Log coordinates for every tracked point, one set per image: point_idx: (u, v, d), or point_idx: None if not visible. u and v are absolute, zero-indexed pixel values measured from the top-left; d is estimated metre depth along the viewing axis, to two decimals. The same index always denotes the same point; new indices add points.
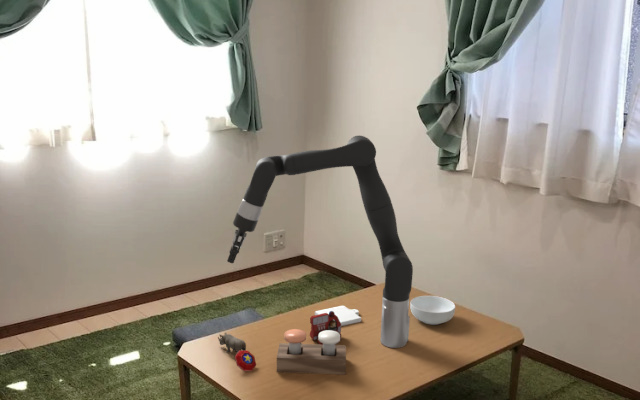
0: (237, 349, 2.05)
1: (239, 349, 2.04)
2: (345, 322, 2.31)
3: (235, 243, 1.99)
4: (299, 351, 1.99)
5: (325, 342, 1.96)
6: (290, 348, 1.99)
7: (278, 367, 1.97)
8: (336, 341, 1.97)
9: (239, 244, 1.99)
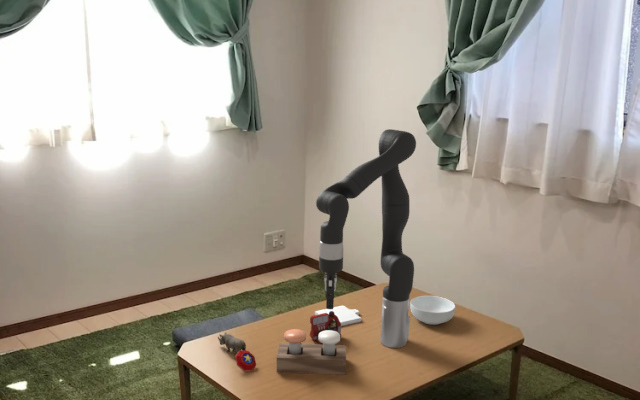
0: (237, 349, 2.05)
1: (239, 349, 2.05)
2: (345, 322, 2.31)
3: (327, 289, 1.88)
4: (299, 351, 1.99)
5: (325, 342, 1.96)
6: (290, 348, 1.99)
7: (278, 367, 1.97)
8: (336, 341, 1.97)
9: (332, 288, 1.88)
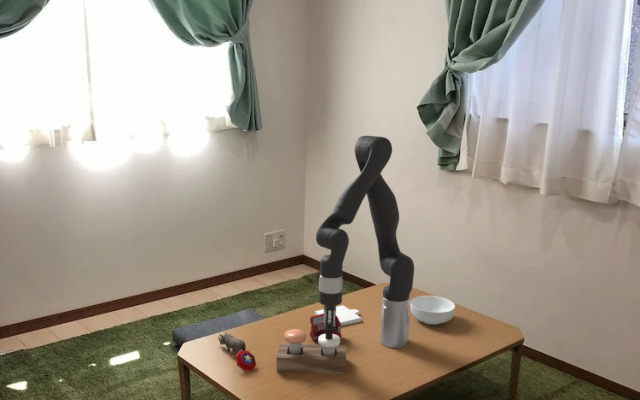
0: (237, 349, 2.05)
1: (239, 349, 2.05)
2: (345, 322, 2.31)
3: (327, 325, 1.93)
4: (299, 351, 1.99)
5: (325, 345, 1.96)
6: (290, 348, 1.99)
7: (278, 367, 1.97)
8: (336, 344, 1.97)
9: (331, 325, 1.93)
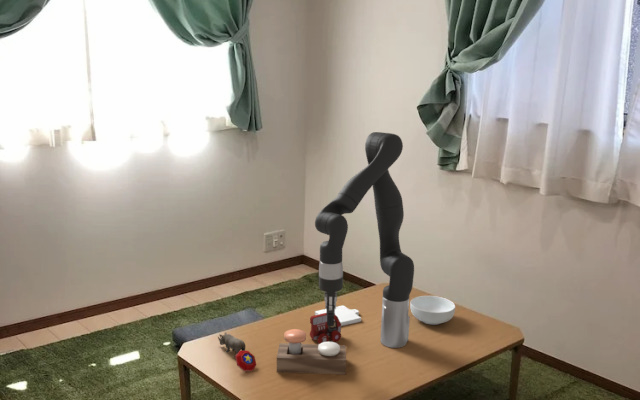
0: (236, 349, 2.05)
1: (238, 349, 2.05)
2: (345, 322, 2.31)
3: (328, 311, 1.92)
4: (299, 351, 1.99)
5: (325, 354, 1.97)
6: (290, 348, 1.99)
7: (278, 367, 1.97)
8: (336, 353, 1.98)
9: (332, 311, 1.92)
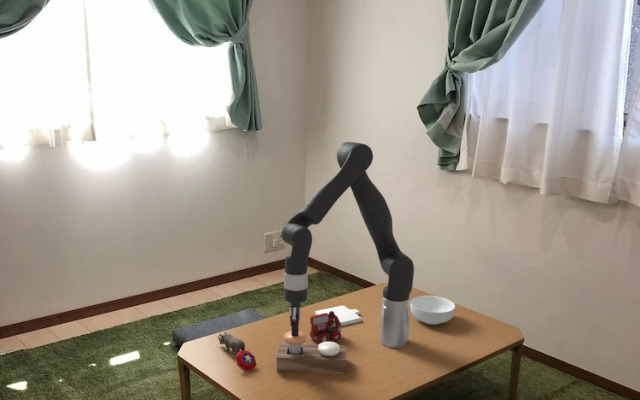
0: (236, 349, 2.05)
1: (238, 349, 2.05)
2: (345, 322, 2.31)
3: (291, 322, 1.93)
4: (299, 352, 1.99)
5: (325, 354, 1.97)
6: (290, 349, 1.99)
7: (278, 367, 1.97)
8: (336, 353, 1.98)
9: (296, 322, 1.93)
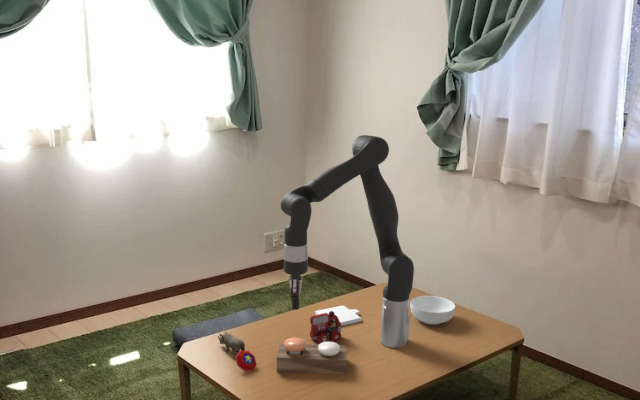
0: (235, 349, 2.05)
1: (237, 349, 2.05)
2: (345, 322, 2.31)
3: (292, 294, 1.91)
4: None
5: (325, 354, 1.97)
6: None
7: (278, 367, 1.97)
8: (336, 353, 1.98)
9: (296, 294, 1.91)
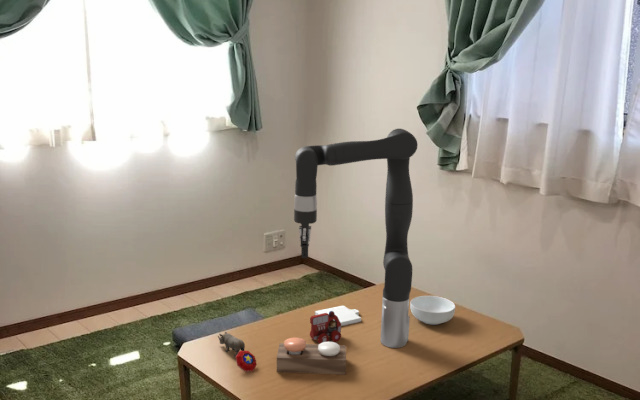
0: (235, 349, 2.05)
1: (237, 349, 2.05)
2: (345, 322, 2.31)
3: (302, 242, 2.02)
4: None
5: (325, 354, 1.97)
6: None
7: (278, 367, 1.97)
8: (336, 353, 1.98)
9: (306, 242, 2.02)
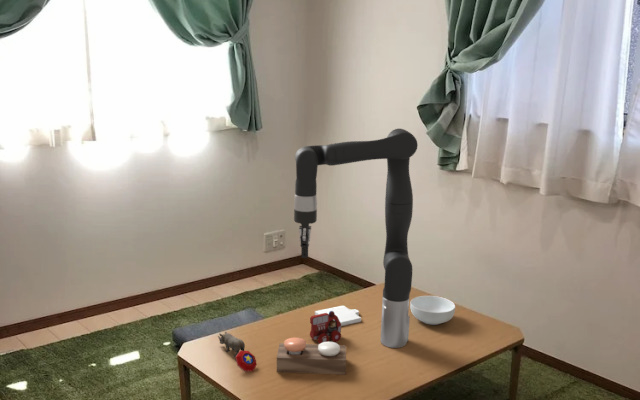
0: (235, 349, 2.05)
1: (237, 349, 2.05)
2: (345, 322, 2.31)
3: (302, 242, 2.02)
4: None
5: (325, 354, 1.97)
6: None
7: (278, 367, 1.97)
8: (336, 353, 1.98)
9: (306, 242, 2.02)
